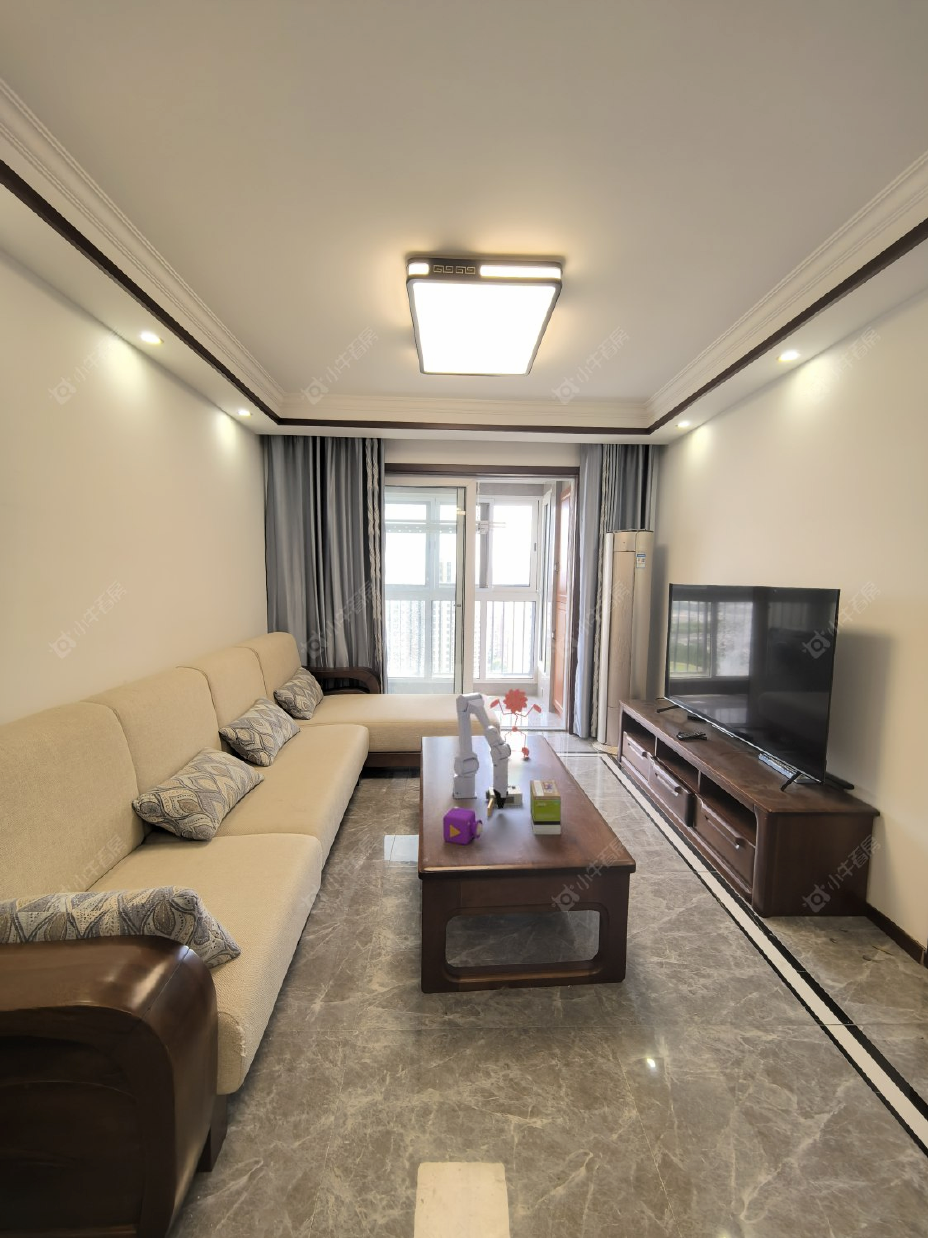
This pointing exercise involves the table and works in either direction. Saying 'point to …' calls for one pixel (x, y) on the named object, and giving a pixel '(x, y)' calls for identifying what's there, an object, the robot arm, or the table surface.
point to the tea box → (545, 807)
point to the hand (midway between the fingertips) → (500, 808)
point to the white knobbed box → (511, 799)
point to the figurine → (516, 709)
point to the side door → (490, 807)
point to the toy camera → (461, 826)
